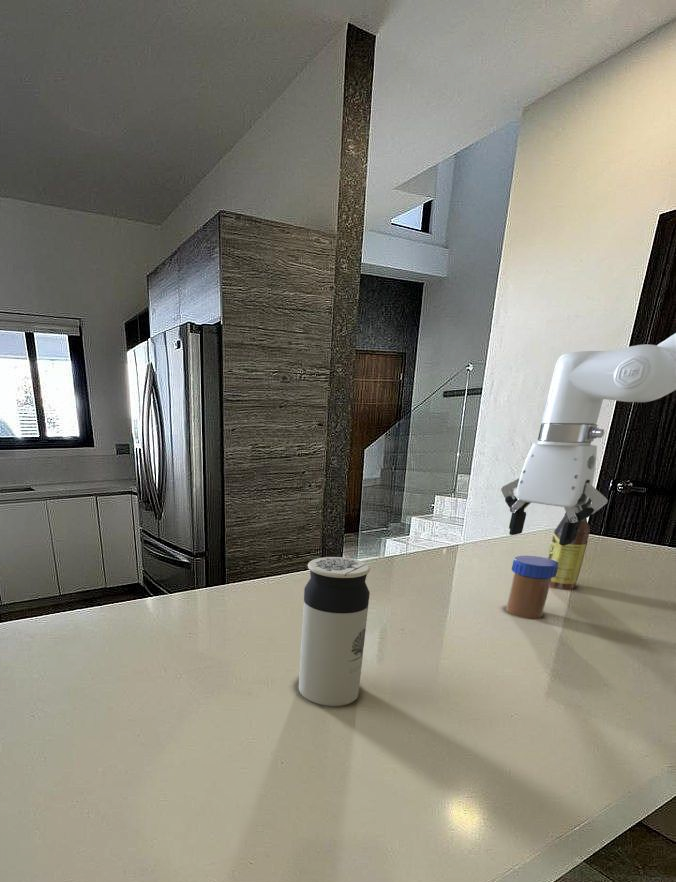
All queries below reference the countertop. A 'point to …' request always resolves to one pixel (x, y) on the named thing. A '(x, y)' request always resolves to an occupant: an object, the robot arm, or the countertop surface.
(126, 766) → the countertop surface
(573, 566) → the sauce bottle
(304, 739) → the countertop surface
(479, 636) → the countertop surface
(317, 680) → the travel mug
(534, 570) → the lid
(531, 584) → the jar
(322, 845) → the countertop surface
